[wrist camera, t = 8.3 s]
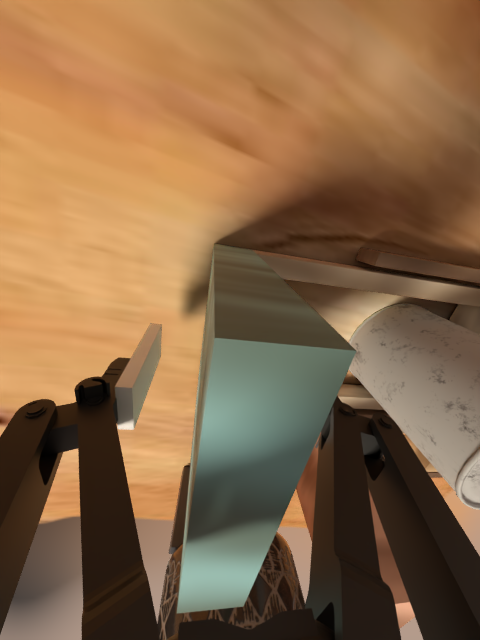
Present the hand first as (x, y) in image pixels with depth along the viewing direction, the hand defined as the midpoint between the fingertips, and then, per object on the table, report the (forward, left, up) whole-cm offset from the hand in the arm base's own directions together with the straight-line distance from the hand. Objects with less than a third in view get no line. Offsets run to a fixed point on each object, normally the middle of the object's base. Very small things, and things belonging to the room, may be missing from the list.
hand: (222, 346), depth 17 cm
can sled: (0, +11, -4) cm, 12 cm away
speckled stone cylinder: (0, +18, -4) cm, 18 cm away
